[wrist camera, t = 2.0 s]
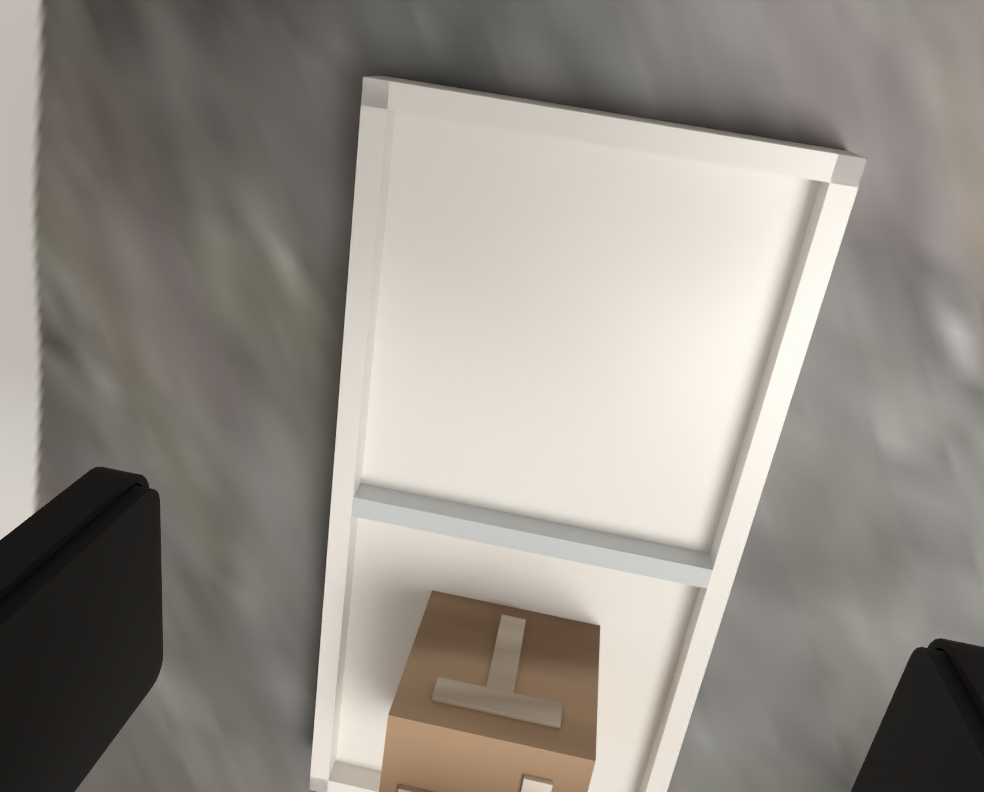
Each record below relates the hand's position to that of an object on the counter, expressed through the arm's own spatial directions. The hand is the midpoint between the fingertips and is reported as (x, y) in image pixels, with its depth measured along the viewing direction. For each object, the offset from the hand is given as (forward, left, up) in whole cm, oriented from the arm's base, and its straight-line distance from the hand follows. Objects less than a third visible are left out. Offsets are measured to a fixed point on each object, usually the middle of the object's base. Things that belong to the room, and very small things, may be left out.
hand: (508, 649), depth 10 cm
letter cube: (+11, 0, -12) cm, 16 cm away
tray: (+5, 0, -12) cm, 14 cm away
